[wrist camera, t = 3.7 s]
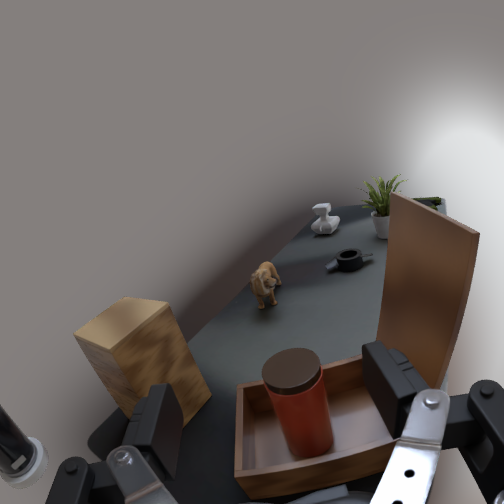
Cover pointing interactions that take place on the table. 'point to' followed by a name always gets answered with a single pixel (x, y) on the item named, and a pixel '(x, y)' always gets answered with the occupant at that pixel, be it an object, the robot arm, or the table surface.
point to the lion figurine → (264, 283)
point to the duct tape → (347, 260)
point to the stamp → (324, 219)
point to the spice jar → (300, 401)
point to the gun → (428, 201)
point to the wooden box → (319, 467)
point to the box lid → (425, 285)
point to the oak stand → (151, 366)
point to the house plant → (381, 206)
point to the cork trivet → (120, 322)
